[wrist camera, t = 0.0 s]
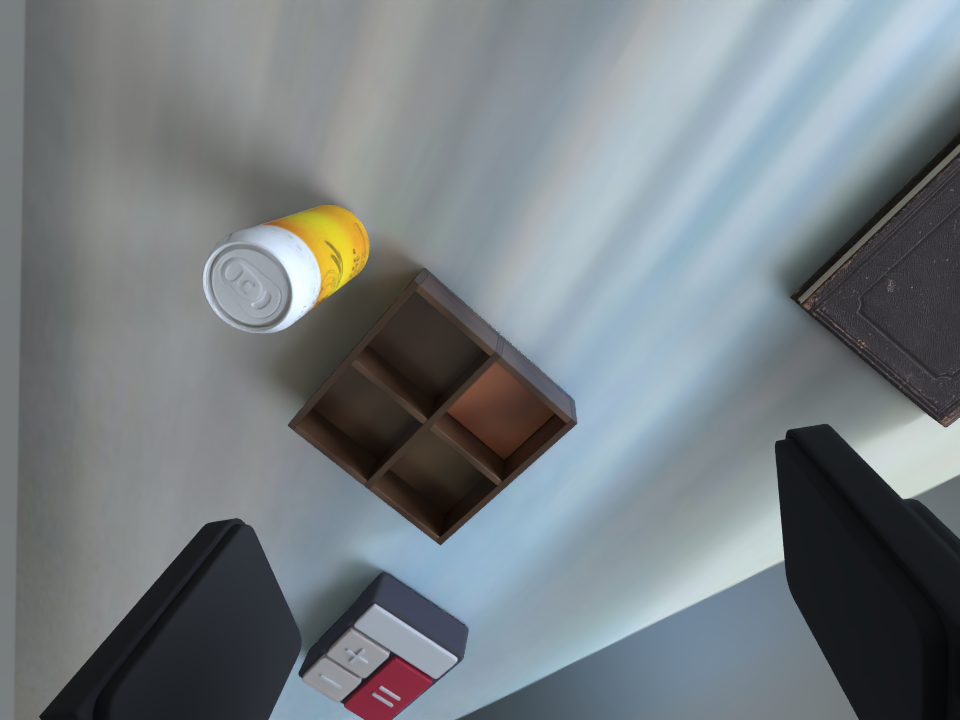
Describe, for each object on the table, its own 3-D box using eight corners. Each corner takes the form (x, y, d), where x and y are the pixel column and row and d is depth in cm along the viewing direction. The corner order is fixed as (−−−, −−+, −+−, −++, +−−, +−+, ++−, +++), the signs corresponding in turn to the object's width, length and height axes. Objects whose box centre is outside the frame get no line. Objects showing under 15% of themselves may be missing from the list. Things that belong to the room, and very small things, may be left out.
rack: (306, 403, 52) (286, 425, 48) (424, 267, 47) (413, 279, 43) (447, 516, 55) (440, 545, 51) (574, 400, 50) (577, 423, 46)
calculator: (293, 682, 60) (370, 603, 54) (309, 646, 64) (383, 570, 58) (380, 735, 62) (464, 665, 56) (391, 698, 66) (470, 628, 60)
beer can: (335, 294, 48) (251, 359, 34) (283, 237, 47) (174, 280, 33) (387, 248, 47) (321, 296, 33) (334, 186, 45) (242, 210, 31)
